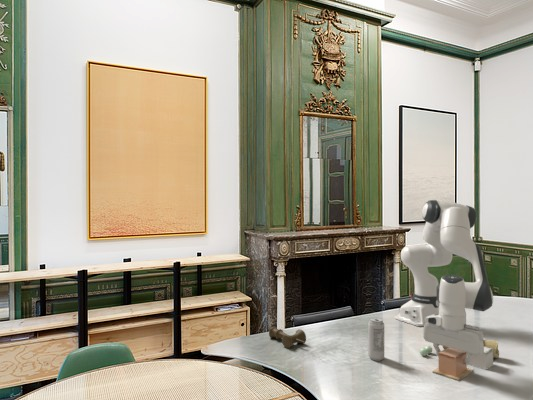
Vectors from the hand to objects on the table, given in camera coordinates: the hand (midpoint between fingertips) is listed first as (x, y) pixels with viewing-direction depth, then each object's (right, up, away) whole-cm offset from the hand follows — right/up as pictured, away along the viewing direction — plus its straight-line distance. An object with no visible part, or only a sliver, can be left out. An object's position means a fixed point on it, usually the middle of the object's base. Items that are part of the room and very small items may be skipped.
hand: (452, 360), depth 141 cm
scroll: (+15, -5, +17) cm, 23 cm away
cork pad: (0, -4, 0) cm, 4 cm away
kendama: (-57, -5, +29) cm, 64 cm away
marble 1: (-5, -4, +14) cm, 16 cm away
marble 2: (-2, -4, +17) cm, 17 cm away
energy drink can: (-24, -4, +12) cm, 27 cm away
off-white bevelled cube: (+13, -4, +6) cm, 15 cm away
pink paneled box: (0, -4, 0) cm, 4 cm away
